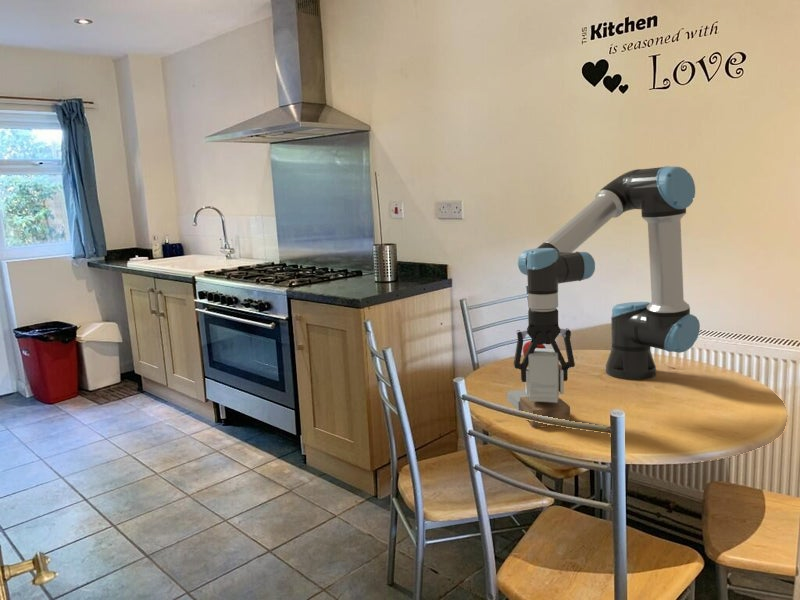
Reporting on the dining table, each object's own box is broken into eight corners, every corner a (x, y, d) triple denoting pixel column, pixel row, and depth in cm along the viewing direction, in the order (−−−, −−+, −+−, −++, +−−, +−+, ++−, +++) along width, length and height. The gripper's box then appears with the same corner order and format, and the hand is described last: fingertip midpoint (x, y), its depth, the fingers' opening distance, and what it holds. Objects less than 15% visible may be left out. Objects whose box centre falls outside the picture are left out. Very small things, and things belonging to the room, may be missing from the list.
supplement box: (559, 393, 153) (559, 348, 151) (557, 403, 147) (557, 356, 144) (531, 392, 156) (531, 347, 154) (528, 401, 149) (528, 354, 147)
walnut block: (555, 411, 158) (555, 394, 157) (570, 425, 148) (570, 406, 147) (520, 414, 157) (519, 397, 156) (533, 428, 147) (532, 410, 146)
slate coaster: (536, 397, 169) (535, 387, 169) (549, 408, 161) (548, 397, 160) (507, 401, 168) (506, 391, 167) (518, 411, 159) (518, 401, 159)
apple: (522, 361, 205) (521, 334, 204) (545, 361, 204) (545, 334, 202) (523, 368, 197) (523, 340, 196) (548, 367, 196) (547, 339, 194)
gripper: (581, 304, 150) (581, 387, 154) (501, 307, 152) (503, 389, 156) (587, 309, 142) (588, 396, 146) (503, 313, 145) (505, 398, 148)
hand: (544, 392), depth 151 cm, fingers closed on supplement box, 8 cm apart
